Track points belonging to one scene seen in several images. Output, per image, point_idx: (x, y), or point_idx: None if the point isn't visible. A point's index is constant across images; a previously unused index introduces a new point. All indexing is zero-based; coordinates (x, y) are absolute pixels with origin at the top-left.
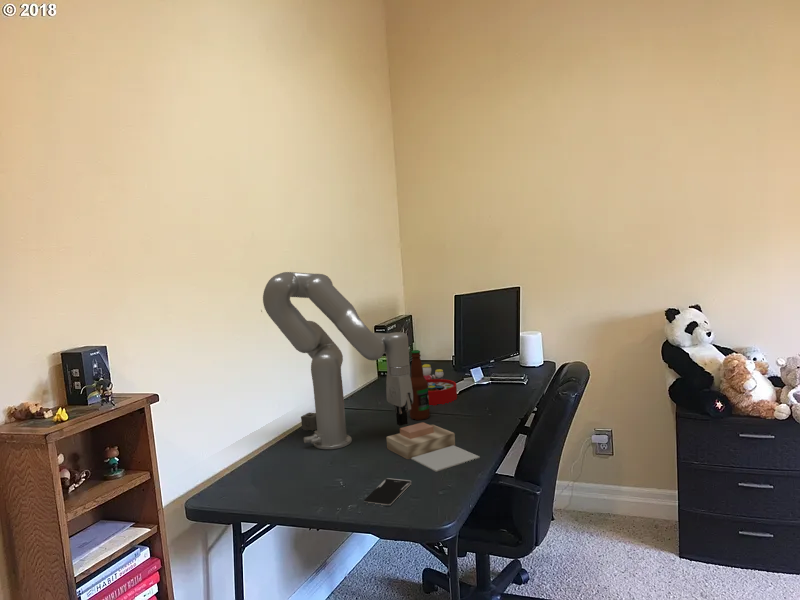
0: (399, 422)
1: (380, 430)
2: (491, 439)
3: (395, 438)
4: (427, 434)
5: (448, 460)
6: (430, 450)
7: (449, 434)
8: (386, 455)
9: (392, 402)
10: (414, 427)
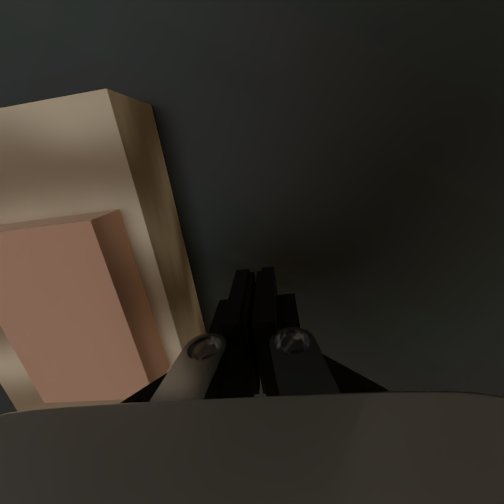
0: (234, 282)
1: (490, 210)
2: None
3: (41, 139)
4: None
5: None
6: None
7: (17, 407)
8: (46, 51)
9: (258, 428)
10: (67, 316)
